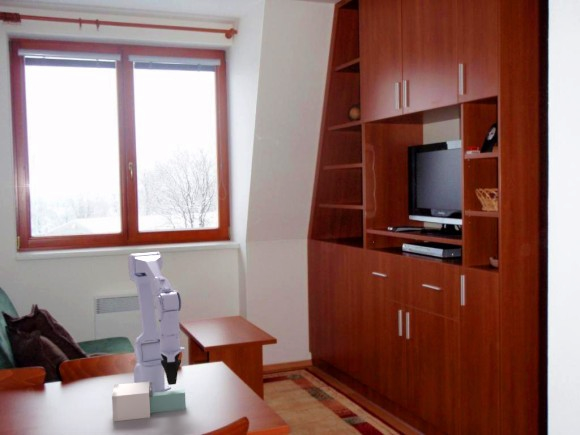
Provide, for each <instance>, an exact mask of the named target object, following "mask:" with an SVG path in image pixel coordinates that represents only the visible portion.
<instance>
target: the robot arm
mask: <svg viewBox="0 0 580 435" xmlns="http://www.w3.org/2000/svg"><path fill="white" fill-rule="evenodd" d="M127 267H128V274H129V275H128V276H129V278H130V281H132V282H135V285H136V291H137V300H138V308H139V315H140V325H141V326H140V327H141V333H140V334H139V335H138V336H137V337H136V339H135V340H134V352H133V353H134V359H135V361H136V364H135V366H134V368H133V383H138V382H149V381H150V382H152V383H153V393H156V392H166V391H168V390H171V385H176V384H177V382H178V381H177V380H178V373H179V372H178V371H179V369H180V365H181V363H182V359H179V357H180V354H181V352H184V351H185V347H184V346H181V334H180V332H181V331H180V329H181V328H180V311H181V310H182V296H181V293H180V292H179V291H178V290H176V289H173V287H172V285H171V283H170V281H169V279H168V278H167V277H165V276H163V274H162V268H163V257H162V254H161V252H159V251H152V252H142V253H140V252H139V253H130V254H129V255H128V258H127ZM154 300H155V302H154ZM156 315H157V318H156ZM157 319H158V323H159V324H158V326H159V328H158V326H157ZM158 330H159V331H158ZM165 378H166V381H167V384H168V386H167V385H165V384H166V383H165Z"/></svg>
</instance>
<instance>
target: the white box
mask: <svg viewBox="0 0 580 435" xmlns="http://www.w3.org/2000/svg"><path fill="white" fill-rule="evenodd" d="M152 393H153V383H152V382H150V381H149V382H138V383H134V382H132V383H131V382H129V383H121V384H120V383H119V384H114V386H113V391H112V395H111V403H112V404H111V406H112V420H113V422H120V421H131V420H139V419H147V418H148V419H149V418H151V413H150V397H152Z"/></svg>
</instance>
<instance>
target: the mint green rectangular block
mask: <svg viewBox="0 0 580 435" xmlns="http://www.w3.org/2000/svg"><path fill="white" fill-rule="evenodd" d="M186 409H187V406H186V391H185V389H177V390H169V391H168V390H165V391H163V392H156V393H152V397H150V414H152V413H160V412H161V413H162V412H163V413H164V412H171V411H179V410H186Z"/></svg>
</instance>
